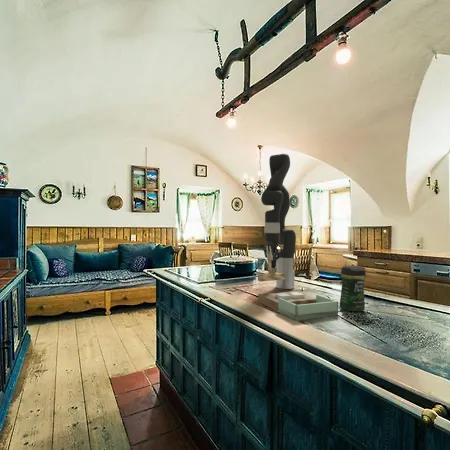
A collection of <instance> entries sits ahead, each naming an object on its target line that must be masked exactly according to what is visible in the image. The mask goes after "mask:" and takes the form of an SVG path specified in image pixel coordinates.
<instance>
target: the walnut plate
mask: <svg viewBox="0 0 450 450" xmlns="http://www.w3.org/2000/svg"><path fill="white" fill-rule="evenodd" d="M291 292H296V291H295V290H294V291H293V290H292V291H281V292H268V293H267V292H266V293H258V295H257V297H258V298H257V302H258V303H260V304H262V305H264V306H266V307H268V308H270V309H271V310H274V311H276V312H278V298H276V297H275V294H279V293H286V294H288V293H291ZM286 301H289V302H291V303H294V304H296V305H300V304H310V303H316V297H312V296H310V295H307V294H305V295H304V298H298V299H294V298H292V297H291V299H286Z"/></svg>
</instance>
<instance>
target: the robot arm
mask: <svg viewBox="0 0 450 450" xmlns="http://www.w3.org/2000/svg"><path fill="white" fill-rule="evenodd" d="M268 160H269V162H268V163H269V171H270V179H269V181H268V185H267V187H266V188H265V189H264V190H263V191H262V193H261V199H260V200H261V203H262V205H264V206H265V207H266V206H268V207H269V206H272V207H273V209H269V210H266V211H265V213H264V227H263V228H264V229H263V230H264V232H263V233H264V240H263V241H264V242H266V243H265V246H264V245H263V246H262V249H263V250H262V251H263V254H264V257H265V258H266V259H267V264H268V263H269V251H270V255H271V267H272V268H275V269H276V273H280V272H283V273H286V279H284V280H275V281H276V283H275V287H276V288H277V289H284V290H291V289H295V280H296V279H295V277H296V275H295V273H296V272H295V270H294V258H295V257H294V256H295V252H296V246H297V245H296V241H297V235H296V232H295V231H294V229H292V228H291V229H290V228H286V227H285V225H286V224H285V223H286V217H287V215H288V212H289V210H290V207H291V199H290V193H289V190H288V189H287V188H286V187H285V186H284V185H283V183H284V181H285V178H286V176H287V174H288V172H289V169H290V168H291V159H290V155H289V154H288V153H280V154H279V153H278V154H273V155H270V156H269V159H268ZM279 245H280V246H282V247H279ZM273 253H275V254H273ZM273 255H274V257H273Z"/></svg>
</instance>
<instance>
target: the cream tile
mask: <svg viewBox="0 0 450 450" xmlns="http://www.w3.org/2000/svg"><path fill="white" fill-rule="evenodd" d="M290 292H291V291H290ZM288 295H291V297H292V298H294V299H298V298H304V295H306V294H304V293H301V292H298V291H295V292H291V293H288Z"/></svg>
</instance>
